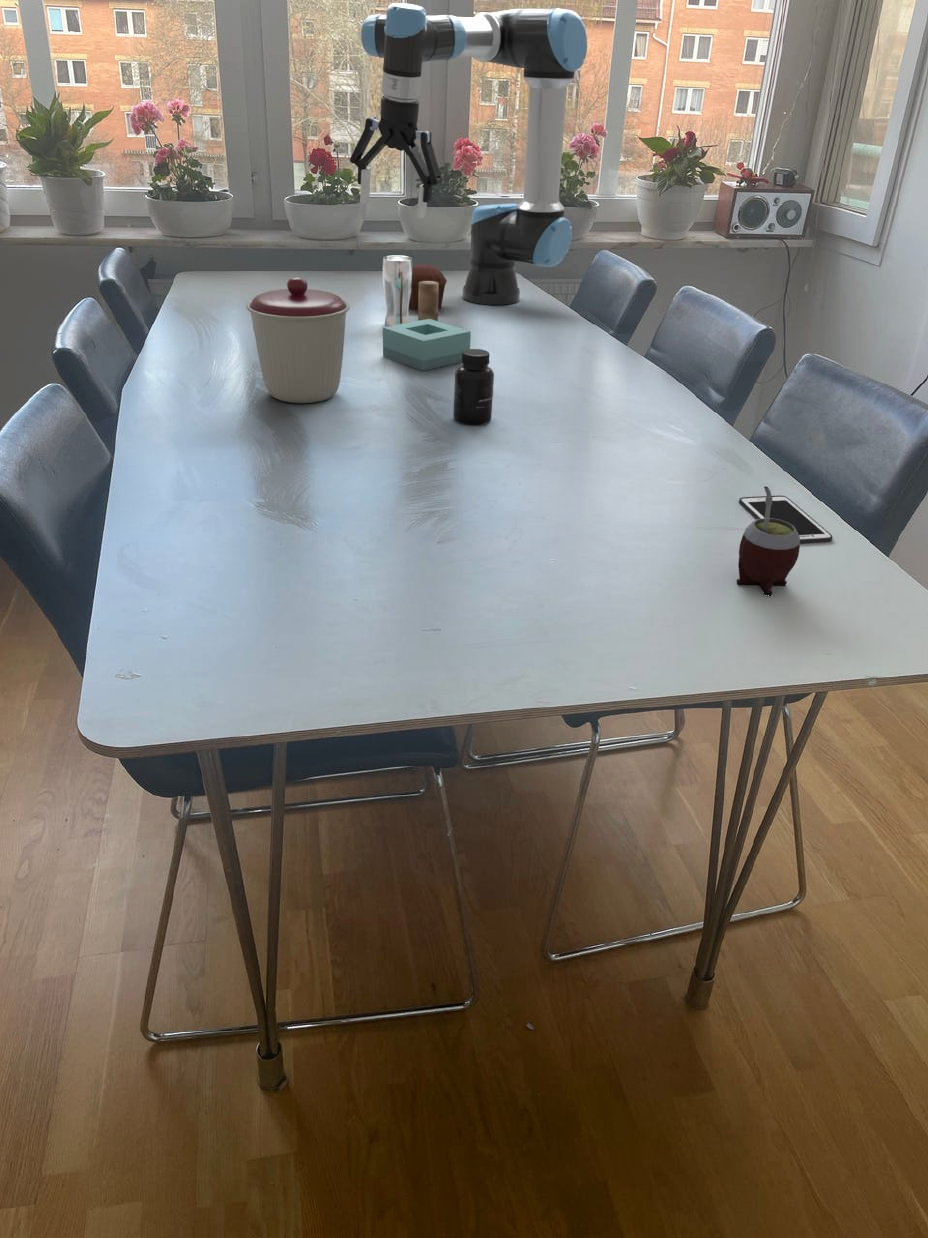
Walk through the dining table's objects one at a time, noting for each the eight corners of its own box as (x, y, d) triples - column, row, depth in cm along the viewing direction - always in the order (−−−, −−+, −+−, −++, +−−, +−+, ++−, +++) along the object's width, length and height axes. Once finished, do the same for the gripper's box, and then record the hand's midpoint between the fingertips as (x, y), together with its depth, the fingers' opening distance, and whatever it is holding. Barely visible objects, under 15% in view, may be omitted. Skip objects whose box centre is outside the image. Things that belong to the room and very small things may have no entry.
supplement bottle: (487, 427, 164) (491, 359, 158) (449, 423, 165) (451, 355, 159) (494, 415, 170) (498, 348, 164) (457, 411, 171) (459, 345, 165)
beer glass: (411, 329, 220) (411, 261, 212) (381, 327, 220) (380, 260, 212) (413, 321, 226) (413, 255, 218) (384, 320, 226) (383, 254, 218)
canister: (333, 415, 167) (329, 292, 156) (237, 405, 170) (226, 283, 159) (363, 385, 182) (361, 271, 171) (274, 376, 185) (267, 263, 174)
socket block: (428, 346, 208) (429, 318, 205) (469, 359, 200) (470, 331, 197) (382, 355, 200) (382, 327, 197) (423, 370, 192) (423, 340, 189)
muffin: (394, 303, 242) (395, 262, 237) (434, 300, 246) (435, 260, 241) (412, 313, 233) (412, 271, 228) (453, 311, 237) (454, 269, 232)
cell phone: (783, 500, 143) (785, 494, 142) (834, 544, 131) (835, 537, 130) (736, 503, 141) (737, 497, 141) (782, 547, 129) (784, 540, 129)
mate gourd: (779, 571, 122) (805, 462, 114) (800, 602, 115) (829, 488, 108) (722, 570, 122) (745, 460, 114) (739, 601, 115) (764, 486, 107)
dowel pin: (428, 334, 217) (429, 279, 210) (441, 338, 214) (442, 283, 208) (413, 337, 214) (414, 282, 208) (426, 341, 211) (427, 285, 205)
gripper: (335, 86, 186) (332, 198, 200) (448, 114, 180) (437, 228, 193) (354, 81, 192) (350, 191, 205) (465, 108, 185) (453, 219, 199)
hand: (392, 209), depth 199 cm, fingers open, 13 cm apart
